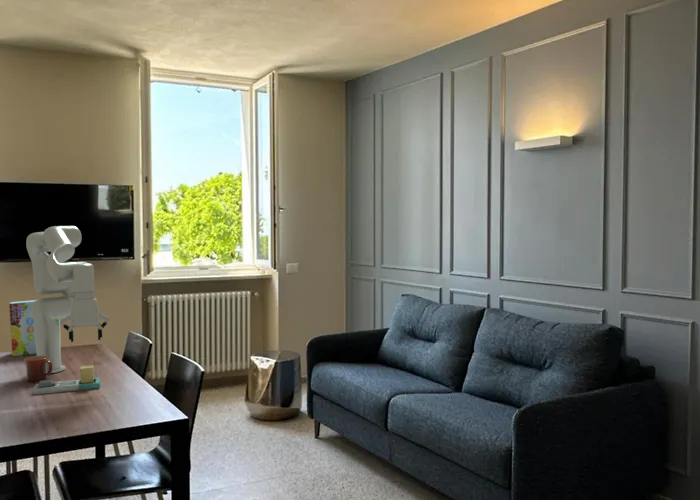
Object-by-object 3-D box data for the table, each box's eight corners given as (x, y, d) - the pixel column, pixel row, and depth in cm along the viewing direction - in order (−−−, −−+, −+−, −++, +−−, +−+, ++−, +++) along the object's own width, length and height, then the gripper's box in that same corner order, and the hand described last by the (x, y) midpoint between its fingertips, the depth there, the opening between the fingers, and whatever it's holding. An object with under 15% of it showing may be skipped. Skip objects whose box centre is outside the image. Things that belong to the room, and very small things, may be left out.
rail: (33, 397, 242) (32, 389, 242) (35, 392, 250) (35, 383, 250) (100, 391, 250) (99, 382, 250) (100, 385, 258) (100, 377, 258)
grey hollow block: (39, 392, 245) (38, 383, 244) (40, 389, 249) (39, 380, 249) (52, 391, 246) (51, 382, 246) (53, 388, 250) (52, 379, 250)
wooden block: (81, 388, 249) (80, 368, 249) (81, 385, 254) (80, 366, 253) (93, 387, 251) (93, 367, 251) (94, 384, 255) (93, 365, 255)
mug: (19, 385, 261) (18, 359, 260) (37, 379, 269) (35, 355, 268) (43, 387, 257) (42, 361, 256) (60, 381, 265) (59, 356, 264)
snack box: (61, 348, 330) (58, 298, 329) (61, 352, 322) (58, 300, 321) (12, 353, 322) (10, 301, 320) (11, 356, 314) (8, 303, 312)
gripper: (58, 298, 244) (60, 344, 245) (108, 296, 250) (109, 340, 251) (60, 296, 251) (62, 340, 252) (108, 293, 257) (110, 337, 258)
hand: (85, 340), depth 251 cm, fingers open, 9 cm apart
